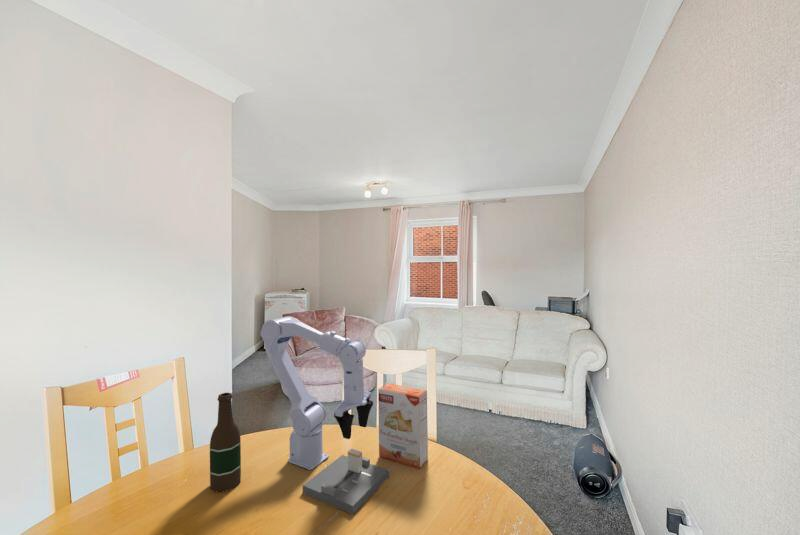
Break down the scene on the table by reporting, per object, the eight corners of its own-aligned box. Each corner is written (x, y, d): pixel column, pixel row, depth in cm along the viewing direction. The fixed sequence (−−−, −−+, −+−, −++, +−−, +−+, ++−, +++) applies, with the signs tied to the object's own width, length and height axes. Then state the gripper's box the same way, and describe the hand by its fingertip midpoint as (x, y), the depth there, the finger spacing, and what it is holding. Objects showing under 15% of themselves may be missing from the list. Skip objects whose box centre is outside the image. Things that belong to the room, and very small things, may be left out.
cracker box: (378, 457, 103) (377, 388, 103) (388, 448, 108) (387, 382, 108) (419, 470, 96) (418, 396, 96) (428, 459, 102) (427, 389, 102)
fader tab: (347, 469, 93) (347, 451, 93) (351, 466, 95) (351, 448, 95) (358, 473, 92) (358, 454, 92) (362, 470, 93) (362, 451, 93)
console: (302, 493, 87) (302, 479, 87) (342, 461, 101) (342, 449, 101) (353, 514, 79) (352, 499, 79) (388, 477, 93) (388, 464, 93)
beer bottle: (246, 483, 92) (245, 393, 92) (215, 497, 86) (214, 402, 86) (235, 471, 97) (234, 387, 97) (205, 484, 91) (204, 394, 91)
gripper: (349, 395, 89) (350, 447, 89) (379, 378, 102) (380, 424, 102) (328, 391, 93) (329, 441, 93) (359, 375, 106) (361, 419, 105)
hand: (355, 432), depth 98 cm, fingers open, 7 cm apart
